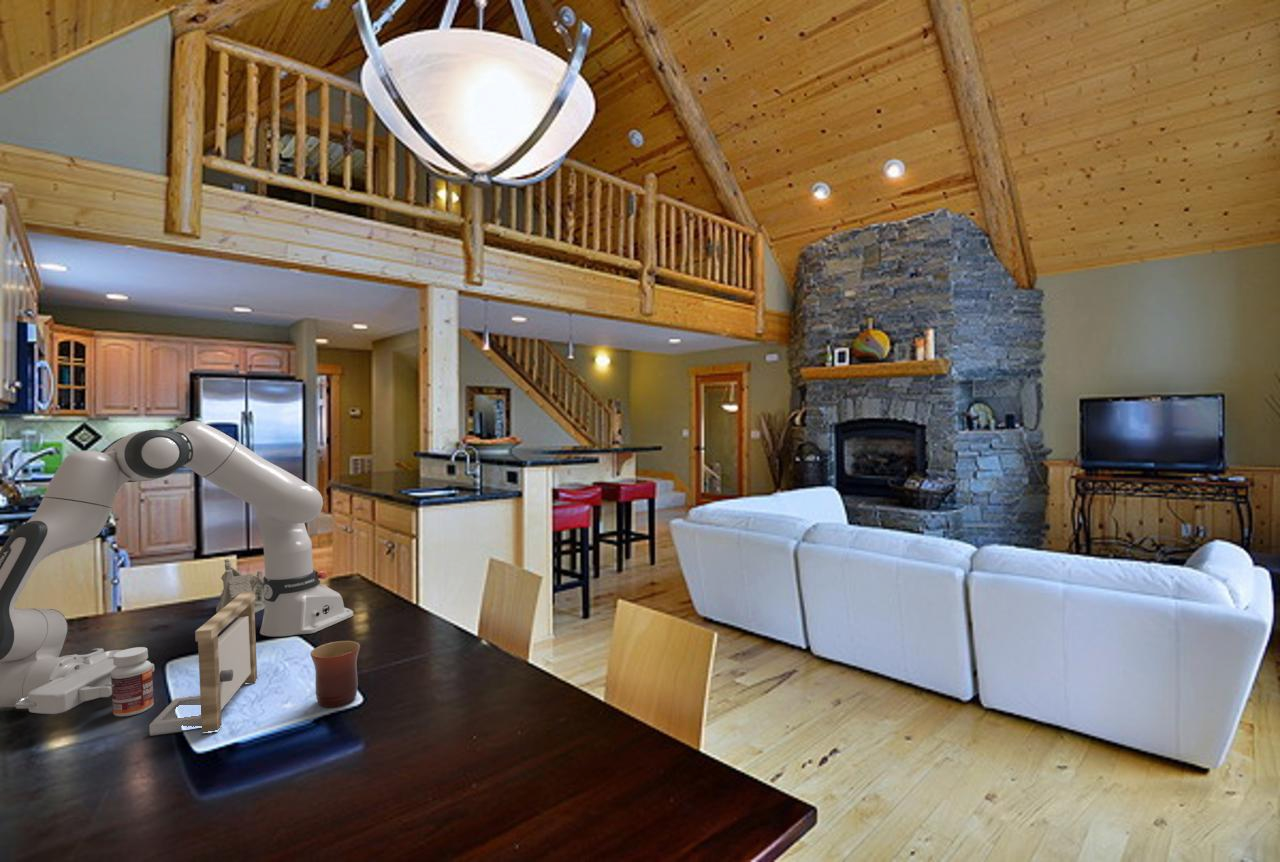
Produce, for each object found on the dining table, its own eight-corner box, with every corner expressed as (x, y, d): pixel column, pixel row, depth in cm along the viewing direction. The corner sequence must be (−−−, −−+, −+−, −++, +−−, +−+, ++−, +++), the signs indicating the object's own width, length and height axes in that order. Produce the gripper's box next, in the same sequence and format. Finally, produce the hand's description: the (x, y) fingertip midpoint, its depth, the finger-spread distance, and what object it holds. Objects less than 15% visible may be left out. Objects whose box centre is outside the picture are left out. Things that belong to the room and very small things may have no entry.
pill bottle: (152, 711, 120) (149, 653, 120) (110, 721, 117) (107, 660, 117) (155, 699, 126) (152, 643, 125) (115, 708, 122) (112, 650, 122)
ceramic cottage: (215, 620, 173) (216, 565, 174) (216, 607, 187) (218, 556, 187) (280, 613, 182) (282, 560, 182) (277, 601, 195) (278, 552, 196)
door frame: (245, 679, 134) (242, 591, 134) (258, 677, 135) (255, 590, 134) (199, 737, 110) (195, 631, 110) (215, 735, 111) (210, 629, 110)
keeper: (175, 709, 121) (174, 698, 121) (228, 702, 124) (227, 692, 124) (149, 735, 111) (149, 724, 111) (208, 728, 114) (207, 717, 114)
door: (242, 674, 131) (239, 617, 131) (259, 672, 132) (257, 615, 131) (208, 714, 114) (206, 648, 113) (229, 711, 115) (226, 646, 114)
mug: (352, 709, 120) (350, 656, 119) (304, 712, 119) (302, 658, 119) (373, 682, 132) (371, 634, 131) (330, 684, 131) (328, 635, 131)
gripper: (5, 689, 110) (85, 687, 111) (102, 645, 131) (170, 643, 131) (7, 724, 111) (87, 722, 111) (104, 675, 131) (171, 673, 131)
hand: (133, 679), depth 121 cm, fingers open, 8 cm apart
